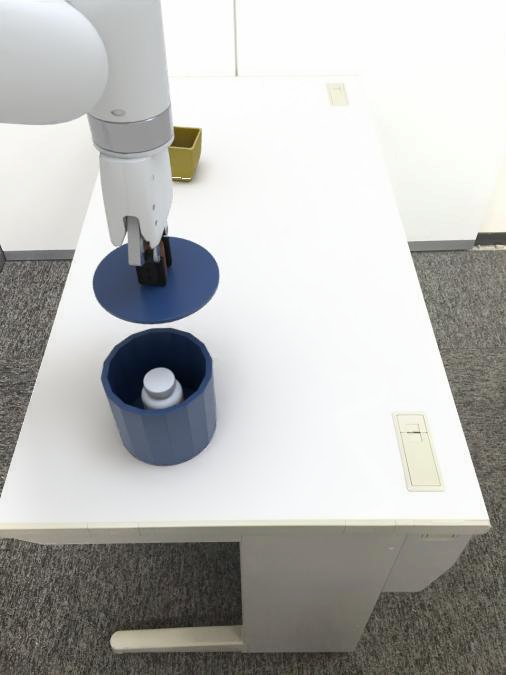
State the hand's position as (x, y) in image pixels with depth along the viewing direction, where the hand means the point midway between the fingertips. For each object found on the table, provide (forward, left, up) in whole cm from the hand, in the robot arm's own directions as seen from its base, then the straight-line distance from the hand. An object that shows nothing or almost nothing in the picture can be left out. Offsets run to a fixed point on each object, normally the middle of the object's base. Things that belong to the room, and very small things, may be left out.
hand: (155, 272), depth 62 cm
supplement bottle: (-3, -5, -22) cm, 23 cm away
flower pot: (+20, +54, -23) cm, 62 cm away
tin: (-3, -5, -23) cm, 24 cm away
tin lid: (0, 0, -1) cm, 1 cm away
